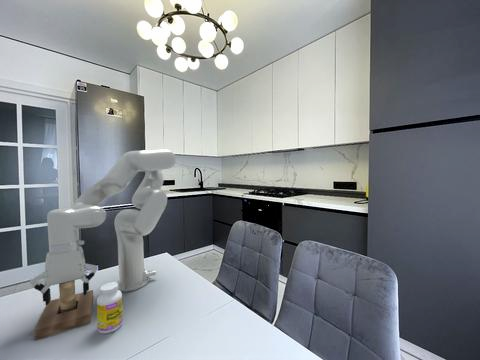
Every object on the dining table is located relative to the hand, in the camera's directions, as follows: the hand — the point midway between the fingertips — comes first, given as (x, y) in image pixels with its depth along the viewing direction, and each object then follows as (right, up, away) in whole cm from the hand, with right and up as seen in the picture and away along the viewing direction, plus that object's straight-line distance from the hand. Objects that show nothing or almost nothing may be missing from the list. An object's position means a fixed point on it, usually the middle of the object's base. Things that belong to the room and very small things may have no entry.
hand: (67, 297), depth 71 cm
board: (0, -6, 0) cm, 6 cm away
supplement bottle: (+17, -7, -4) cm, 19 cm away
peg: (0, -6, 0) cm, 6 cm away
